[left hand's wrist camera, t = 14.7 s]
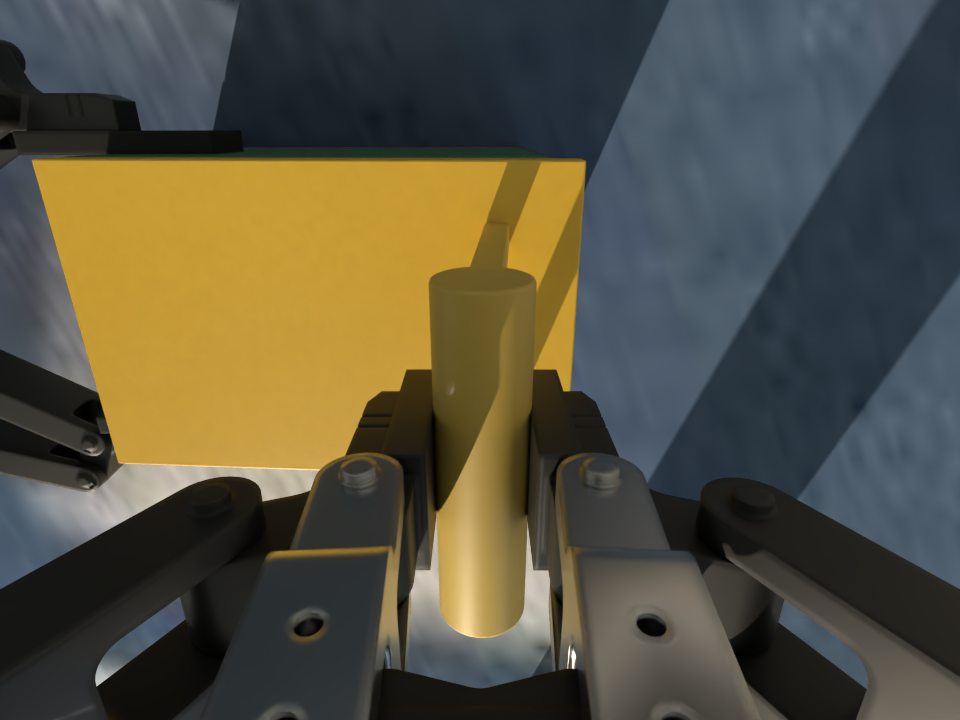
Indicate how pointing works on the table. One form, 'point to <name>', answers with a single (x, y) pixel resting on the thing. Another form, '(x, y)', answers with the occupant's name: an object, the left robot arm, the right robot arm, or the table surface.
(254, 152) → the chest
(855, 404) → the table surface
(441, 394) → the lid
